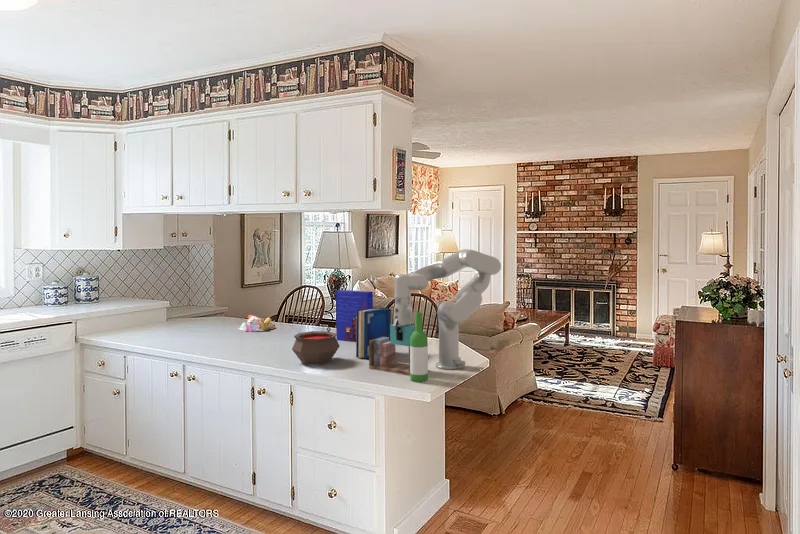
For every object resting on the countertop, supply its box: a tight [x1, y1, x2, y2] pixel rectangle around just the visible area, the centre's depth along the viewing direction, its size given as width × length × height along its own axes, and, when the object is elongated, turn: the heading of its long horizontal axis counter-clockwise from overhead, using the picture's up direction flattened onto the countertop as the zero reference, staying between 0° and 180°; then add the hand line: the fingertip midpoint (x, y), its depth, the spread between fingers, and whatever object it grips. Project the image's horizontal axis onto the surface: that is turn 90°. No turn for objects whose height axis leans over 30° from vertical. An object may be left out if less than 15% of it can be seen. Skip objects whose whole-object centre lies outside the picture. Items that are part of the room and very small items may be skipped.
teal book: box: [390, 323, 415, 347], centre depth 265 cm, size 11×4×9 cm, turn 55°
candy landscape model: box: [237, 314, 277, 333], centre depth 379 cm, size 25×24×9 cm
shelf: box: [368, 337, 410, 376], centre depth 268 cm, size 24×12×14 cm, turn 55°
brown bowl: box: [291, 326, 341, 366], centre depth 284 cm, size 24×24×16 cm
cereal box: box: [335, 289, 374, 343], centre depth 336 cm, size 22×6×30 cm, turn 64°
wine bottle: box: [409, 311, 429, 383], centre depth 248 cm, size 8×8×30 cm
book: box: [355, 307, 392, 360], centre depth 297 cm, size 22×7×25 cm, turn 141°
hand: (402, 339), depth 265 cm, fingers closed on teal book, 4 cm apart
